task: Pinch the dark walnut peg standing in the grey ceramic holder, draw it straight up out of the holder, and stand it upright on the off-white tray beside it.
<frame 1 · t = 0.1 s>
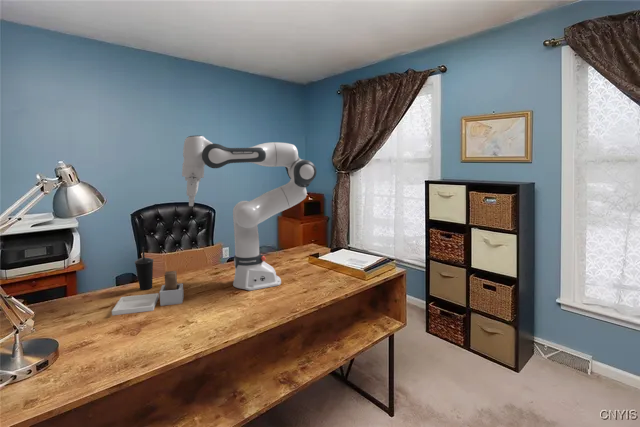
hand: (191, 204, 150), 39 cm above the table, tool pointing down, fingers open, 8 cm apart
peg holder: (172, 302, 141), on the table
walnut peg: (172, 300, 141), point 1 cm above the table, touching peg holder
tray: (137, 307, 137), on the table
drinking cup: (146, 290, 156), on the table
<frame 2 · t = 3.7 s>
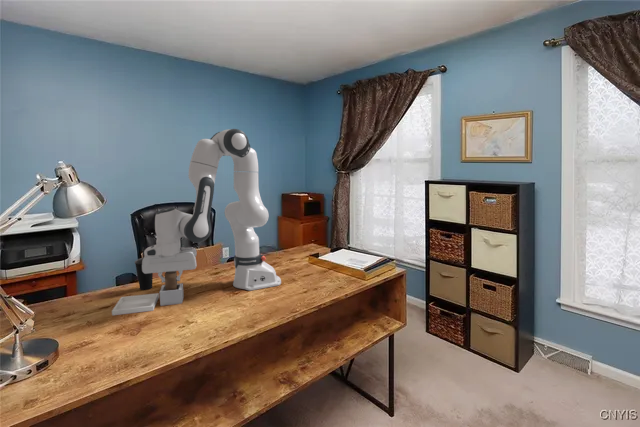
hand: (171, 281, 140), 9 cm above the table, tool pointing down, fingers closed on walnut peg, 4 cm apart
walnut peg: (172, 300, 141), point 1 cm above the table, touching gripper, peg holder
everything else where it was.
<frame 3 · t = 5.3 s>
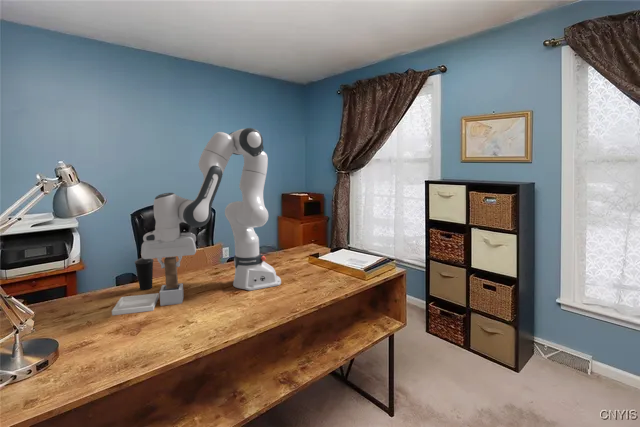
hand: (170, 267, 139), 15 cm above the table, tool pointing down, fingers closed on walnut peg, 4 cm apart
walnut peg: (172, 286, 140), point 7 cm above the table, touching gripper
everything else where it was.
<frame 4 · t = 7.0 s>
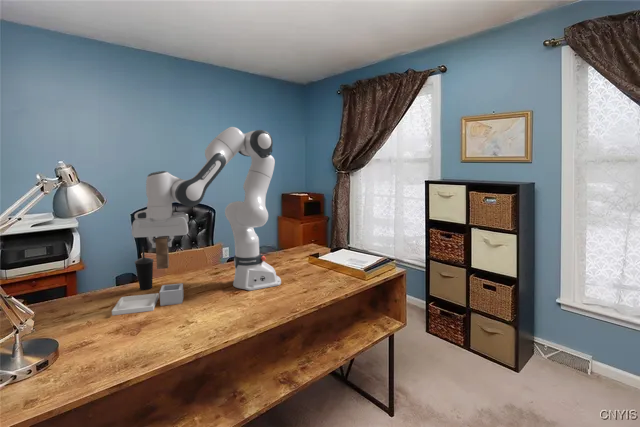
hand: (162, 247, 137), 24 cm above the table, tool pointing down, fingers closed on walnut peg, 4 cm apart
walnut peg: (163, 267, 138), point 15 cm above the table, touching gripper
everything else where it was.
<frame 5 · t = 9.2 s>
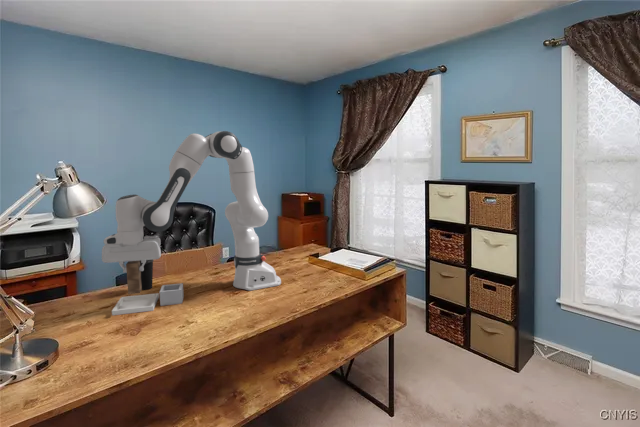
hand: (133, 271, 134), 15 cm above the table, tool pointing down, fingers closed on walnut peg, 4 cm apart
walnut peg: (135, 291, 135), point 7 cm above the table, touching gripper
everything else where it was.
when the fingers open (11 cm above the table, at t = 10.8 s): walnut peg drops 1 cm, resting on tray.
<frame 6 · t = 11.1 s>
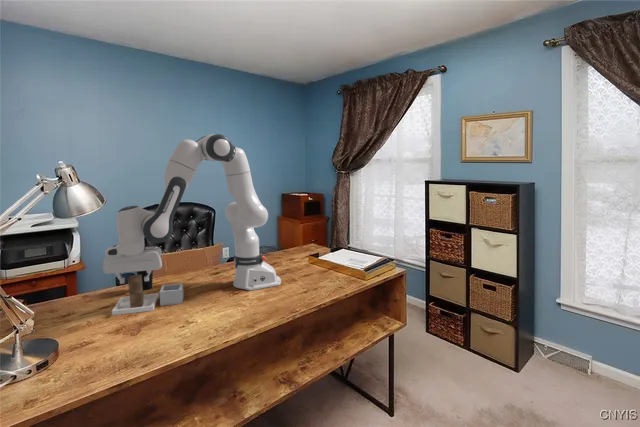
hand: (135, 282, 135), 11 cm above the table, tool pointing down, fingers open, 7 cm apart
walnut peg: (137, 305, 136), point 1 cm above the table, touching tray
everything else where it was.
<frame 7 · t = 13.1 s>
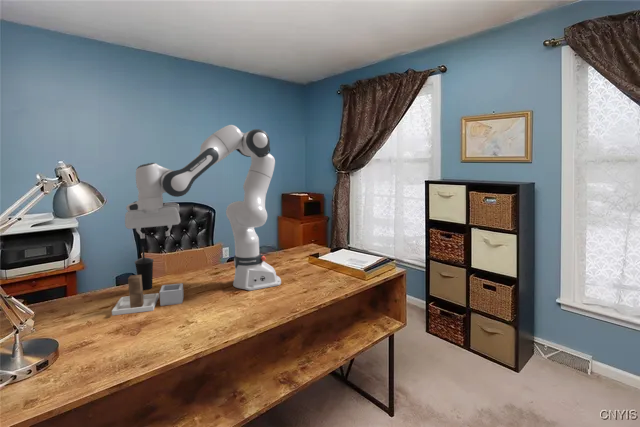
hand: (155, 237, 141), 27 cm above the table, tool pointing down, fingers open, 8 cm apart
nothing on the table moved.
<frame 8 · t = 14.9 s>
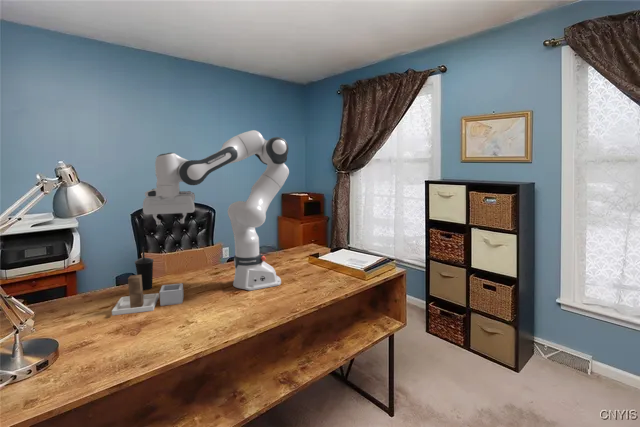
hand: (170, 223, 147), 31 cm above the table, tool pointing down, fingers open, 8 cm apart
nothing on the table moved.
at the end: walnut peg inside the target area on the tray (0.1 cm from its centre), point 0.8 cm above the tray's base; walnut peg tilted 0°; the gripper is holding nothing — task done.
